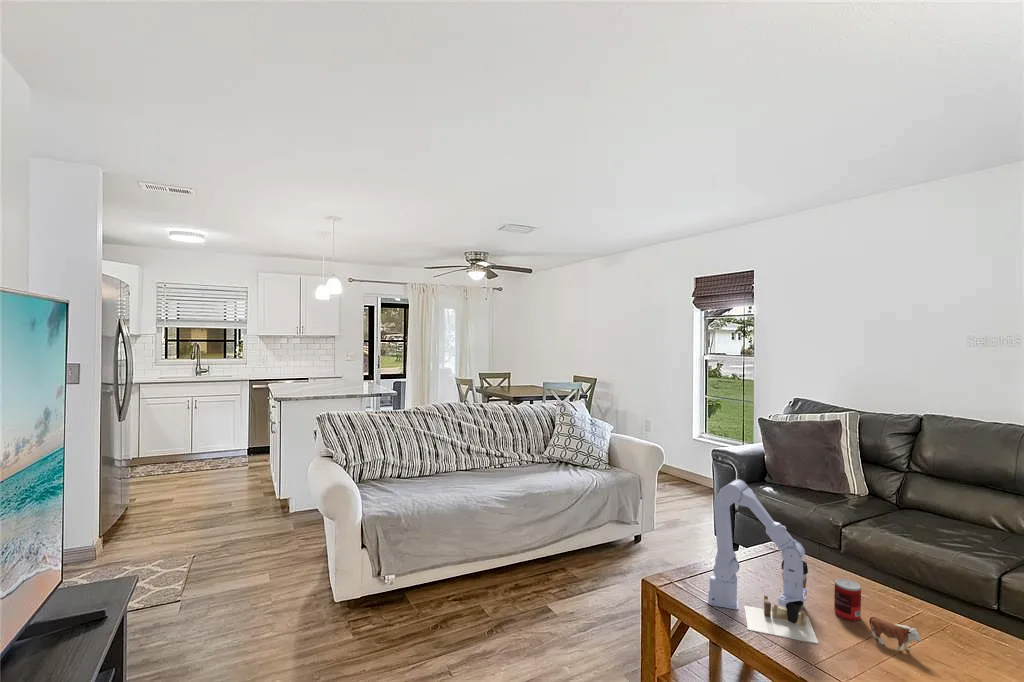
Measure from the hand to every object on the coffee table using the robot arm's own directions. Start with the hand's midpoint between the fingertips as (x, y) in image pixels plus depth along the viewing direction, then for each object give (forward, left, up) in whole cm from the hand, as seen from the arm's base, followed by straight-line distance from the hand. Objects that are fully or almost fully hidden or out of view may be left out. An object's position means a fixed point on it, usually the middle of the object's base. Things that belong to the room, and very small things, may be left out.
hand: (792, 621), depth 169 cm
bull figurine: (+28, -1, -2) cm, 28 cm away
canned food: (+19, +15, -2) cm, 24 cm away
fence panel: (-1, +2, -1) cm, 2 cm away
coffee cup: (+3, +17, -2) cm, 17 cm away
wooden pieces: (-7, +6, -1) cm, 9 cm away
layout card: (-4, 0, -1) cm, 4 cm away
